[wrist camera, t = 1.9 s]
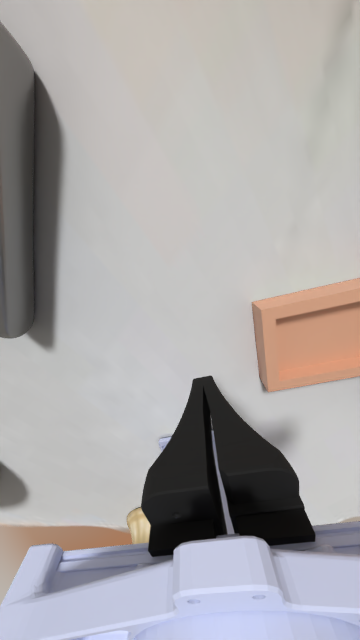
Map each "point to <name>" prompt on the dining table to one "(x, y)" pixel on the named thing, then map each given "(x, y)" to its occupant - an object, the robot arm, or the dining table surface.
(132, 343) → the dining table surface
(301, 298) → the shallow pink tray
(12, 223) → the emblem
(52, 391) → the dining table surface
